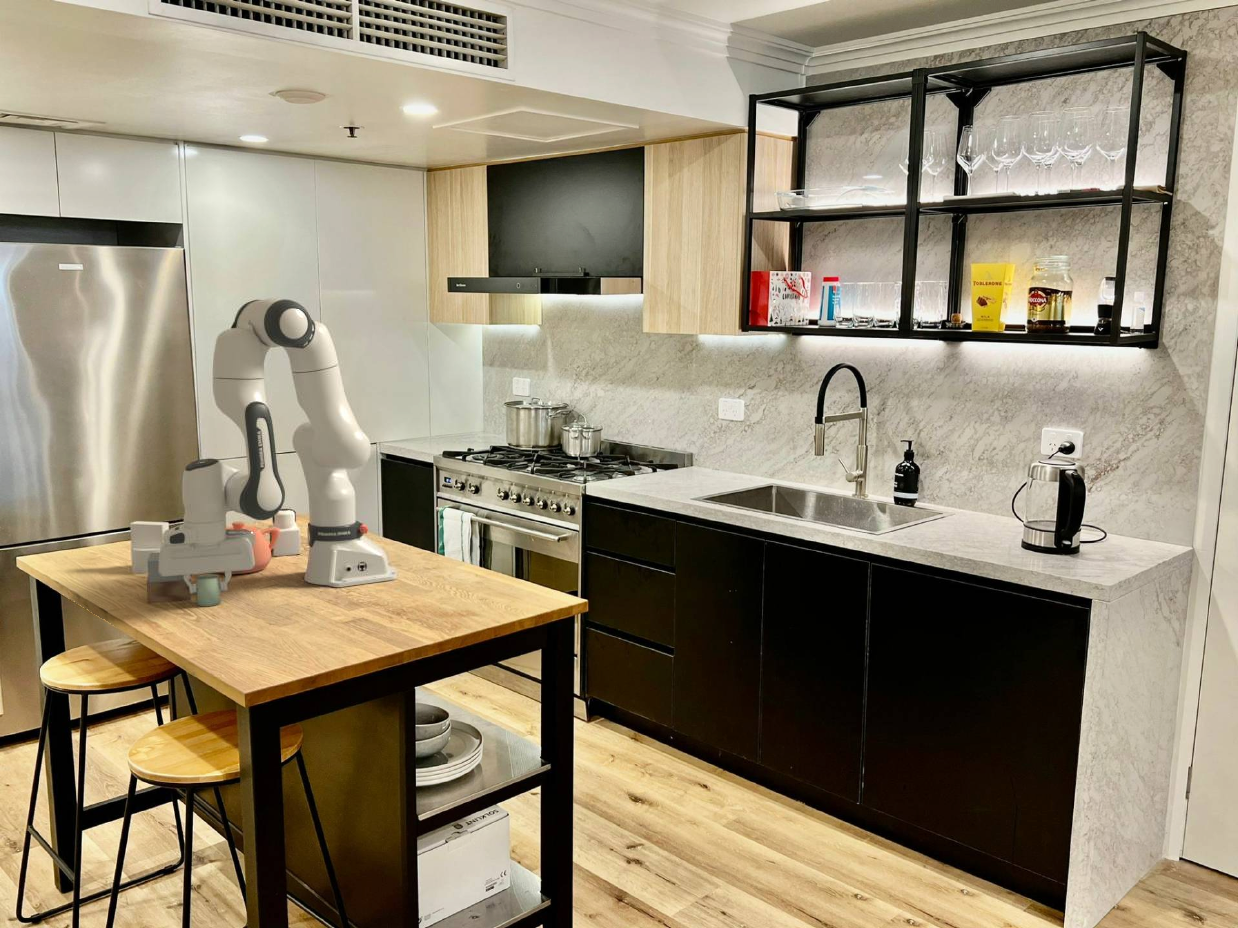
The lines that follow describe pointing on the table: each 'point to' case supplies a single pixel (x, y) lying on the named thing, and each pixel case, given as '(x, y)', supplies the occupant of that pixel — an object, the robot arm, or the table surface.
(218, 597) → the pale green cylinder
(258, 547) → the teapot
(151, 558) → the top block
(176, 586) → the bottom block
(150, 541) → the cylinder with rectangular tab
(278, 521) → the white bottle
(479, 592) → the table surface
